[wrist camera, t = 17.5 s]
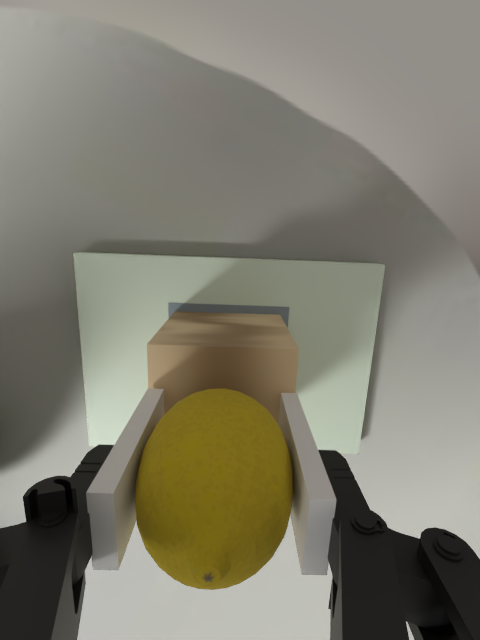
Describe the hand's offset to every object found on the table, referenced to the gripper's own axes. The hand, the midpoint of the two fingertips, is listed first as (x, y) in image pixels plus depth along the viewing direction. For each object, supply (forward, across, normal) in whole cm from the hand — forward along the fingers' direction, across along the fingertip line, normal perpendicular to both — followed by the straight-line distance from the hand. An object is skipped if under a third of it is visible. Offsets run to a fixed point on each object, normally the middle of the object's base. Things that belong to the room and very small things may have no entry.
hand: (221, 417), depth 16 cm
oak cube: (+7, 0, 0) cm, 7 cm away
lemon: (+1, 0, 0) cm, 1 cm away
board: (+9, 0, 0) cm, 9 cm away
